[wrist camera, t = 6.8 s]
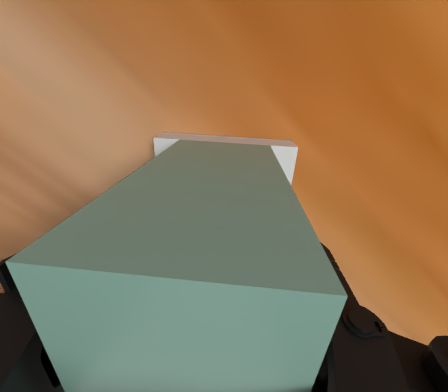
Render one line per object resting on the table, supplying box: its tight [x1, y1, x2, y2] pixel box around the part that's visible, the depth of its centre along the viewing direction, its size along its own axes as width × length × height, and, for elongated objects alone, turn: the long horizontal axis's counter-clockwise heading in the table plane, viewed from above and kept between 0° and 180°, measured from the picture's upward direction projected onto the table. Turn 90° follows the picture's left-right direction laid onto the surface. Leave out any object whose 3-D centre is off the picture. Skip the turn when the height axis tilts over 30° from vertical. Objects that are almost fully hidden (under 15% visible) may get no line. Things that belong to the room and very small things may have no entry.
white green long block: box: [6, 132, 348, 392], centre depth 14 cm, size 8×26×12 cm, turn 177°
